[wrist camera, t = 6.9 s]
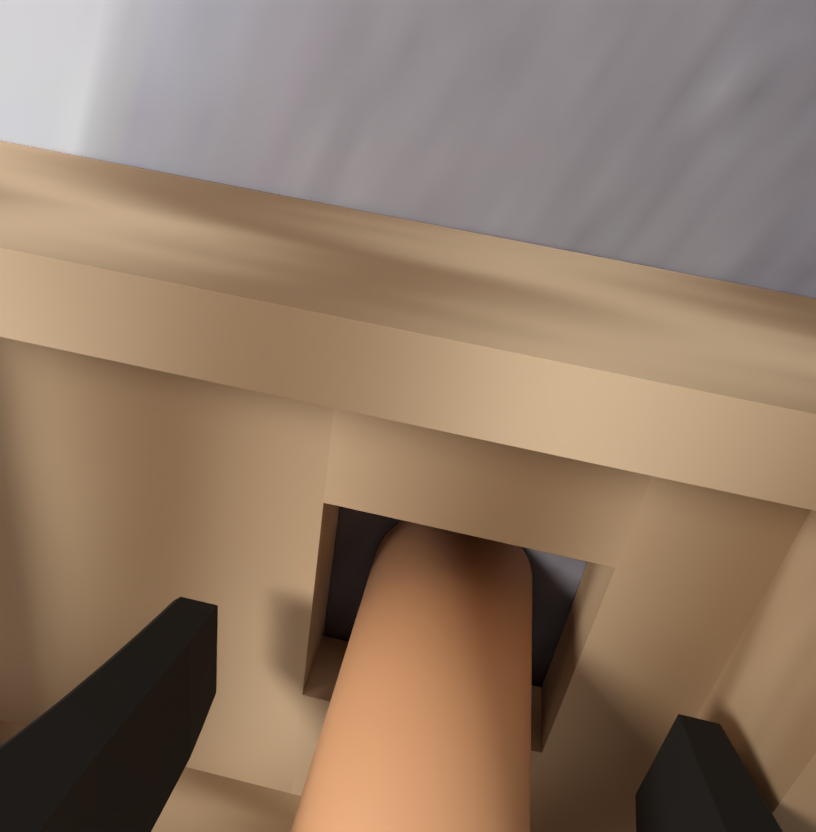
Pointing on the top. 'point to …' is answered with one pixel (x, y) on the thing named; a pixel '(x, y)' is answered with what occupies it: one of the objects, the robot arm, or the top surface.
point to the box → (396, 471)
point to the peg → (430, 694)
